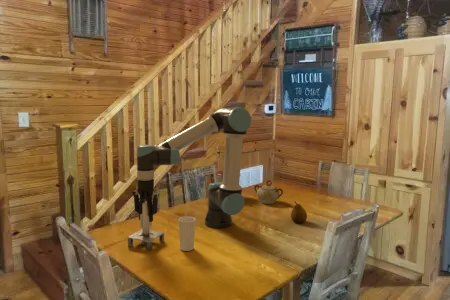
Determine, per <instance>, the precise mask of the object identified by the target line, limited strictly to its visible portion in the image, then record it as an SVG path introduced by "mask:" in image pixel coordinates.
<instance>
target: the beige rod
mask: <svg viewBox="0 0 450 300" xmlns="http://www.w3.org/2000/svg"><path fill="white" fill-rule="evenodd" d="M147 215H148V207H147V201H145V202H143V203H142V228H141V229H143V237H148V236H151V234H150V233H149V230H150V229H147Z"/></svg>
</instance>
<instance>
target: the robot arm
mask: <svg viewBox="0 0 450 300" xmlns="http://www.w3.org/2000/svg"><path fill="white" fill-rule="evenodd" d="M251 124H252V116H251V114H250V112H249V111H248V110H247V109H246V108H244V107H241V106H232V105H226V106H223V107H221V108H219V109H217V110H215V111H214V112H212V113H210V114H208V115H207V118H205V119H203V120H202V121H200V122H198V123H196V124H194V125H193V126H190V127H189V128H187V129H185V130H183V131H182V132H180V133H178V134H176V135H175V136H172V137H171V138H169V139H167V140H166V141H162V143H156V144H154V145H151V144H140V145H138V146H137V148H136V167H137V168H136V175H137V176H136V178H137V180H136V183H137V185H136V186H137V189H136V190H133V191H132V196H133V203H134V212H135V213H137V214H138V220H139V227H140V228H141V229H143V228H142V203H143V202H147V207H148V215H147V229H149V230H151V228H153V227H152V226H153V225H152V224H153V223H152V222H154V215H156V214H157V213H158V204H159V203H158V202H159V196H160V193H158V192H156V191H155V189H154V186H155V179H154V178H155V166H170V165H171V166H173V165H178V164H179V163H180V160H181V153H180V151H181V150H184V149H185V148H186V147H188V146H191V144H193V143H196V142H198V141H199V140H201V139H203V138H204V137H206V136H208V135H210V134H211V133H213V132H215V133H216V132H219V131H221V130H223V131H222V133H223V135H224V136H225V143H224V145H225V146H224V159H223V170H222V171H223V182H216V181H215V182H211V183H209V184H208V189H207V190H208V191H207V193H208V195H207V196H208V198H207V202H208V203H207V212H206V215H205V217H204V225H205V226H207V227H209V228H214V229H223V228H224V229H226V228H228V227H231V226H232V225H233V218H232V216H234V215H237V214H239V213H240V212H241V211H243V208H244V207H245V202H246V201H245V198H244V196H243V195H242V193H243V192H242V191H243V187H242V186H241V184H240V182H241V181H240V180H241V179H240V178H241V169H242V168H241V167H242V153H243V140H244V138H245V137H246V136H247V132H248V131H247V130H248V129H249V128H250V127H251Z"/></svg>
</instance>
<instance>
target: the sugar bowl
mask: <svg viewBox="0 0 450 300" xmlns="http://www.w3.org/2000/svg"><path fill="white" fill-rule="evenodd" d="M253 188H254V191H255V193H256V195H257V198H258V199H259V201H260V203H261V204H263V205H273V204H274V203H275V202H277V200H279V199H280V197H281V196H282V195H283V194H284V191H283V189H282V188H277V186H274V185H273V182H272V181H271V180H267V181H266V183H265V184H264V185H258V184H256V185H255V186H254V187H253Z"/></svg>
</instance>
